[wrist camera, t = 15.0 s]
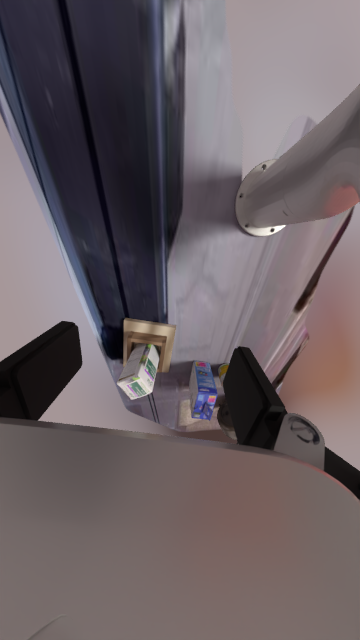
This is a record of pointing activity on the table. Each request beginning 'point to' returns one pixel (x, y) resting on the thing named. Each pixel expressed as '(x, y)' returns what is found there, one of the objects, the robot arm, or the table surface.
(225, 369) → the supplement bottle
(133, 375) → the syrup box
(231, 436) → the alarm clock
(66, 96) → the table surface
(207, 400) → the ink cartridge box
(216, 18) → the table surface
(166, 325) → the desk stand
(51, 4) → the table surface
